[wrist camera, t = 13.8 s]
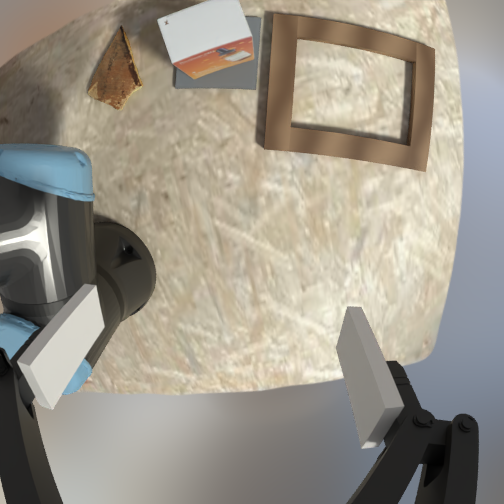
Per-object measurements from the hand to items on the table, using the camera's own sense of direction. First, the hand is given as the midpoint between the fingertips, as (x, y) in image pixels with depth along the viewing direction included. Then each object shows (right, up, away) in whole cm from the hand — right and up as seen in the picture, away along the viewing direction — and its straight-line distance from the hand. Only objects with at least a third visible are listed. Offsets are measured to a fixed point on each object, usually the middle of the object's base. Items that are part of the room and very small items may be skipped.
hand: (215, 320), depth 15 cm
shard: (-17, +28, +19) cm, 38 cm away
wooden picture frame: (+15, +24, +18) cm, 33 cm away
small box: (-2, +28, +17) cm, 33 cm away
